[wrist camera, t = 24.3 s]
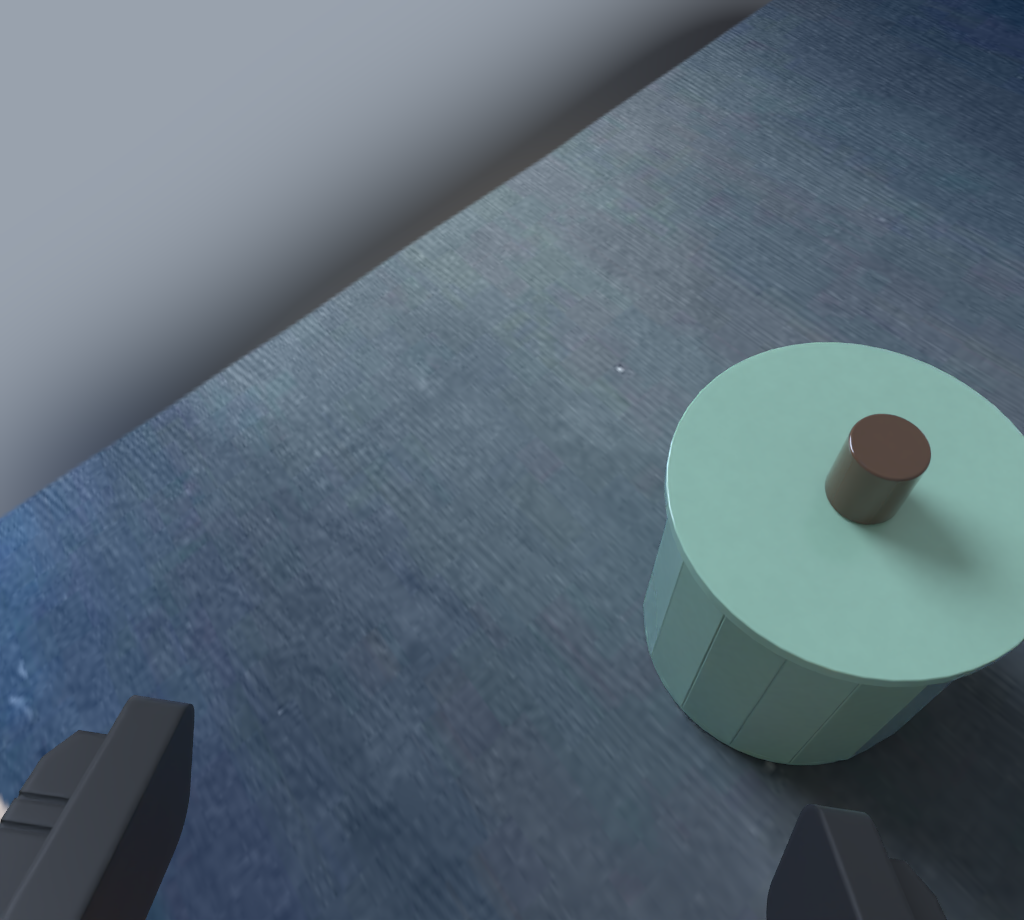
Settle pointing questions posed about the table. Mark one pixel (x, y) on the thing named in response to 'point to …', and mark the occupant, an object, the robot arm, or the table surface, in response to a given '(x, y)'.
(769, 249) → the table surface
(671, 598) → the pot
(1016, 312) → the table surface
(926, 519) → the pot lid
